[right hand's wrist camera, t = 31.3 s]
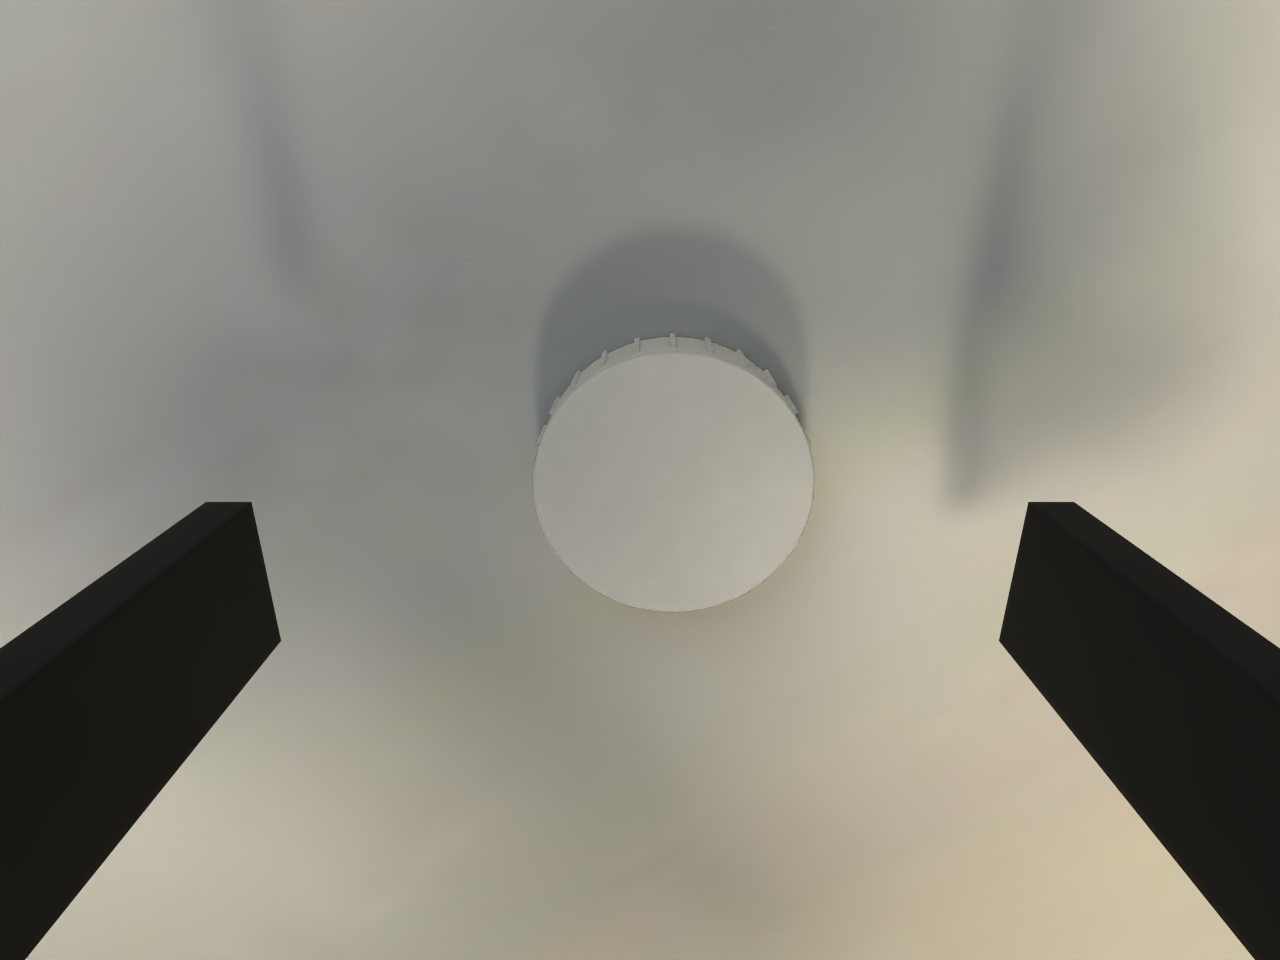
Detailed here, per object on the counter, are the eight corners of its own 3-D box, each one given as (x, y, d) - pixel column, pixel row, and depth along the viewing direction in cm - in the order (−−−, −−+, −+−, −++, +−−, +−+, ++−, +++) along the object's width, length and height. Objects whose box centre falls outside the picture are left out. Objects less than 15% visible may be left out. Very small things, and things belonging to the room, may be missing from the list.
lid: (835, 360, 15) (855, 378, 14) (767, 596, 17) (778, 635, 16) (559, 308, 15) (549, 322, 14) (526, 556, 17) (513, 591, 16)
